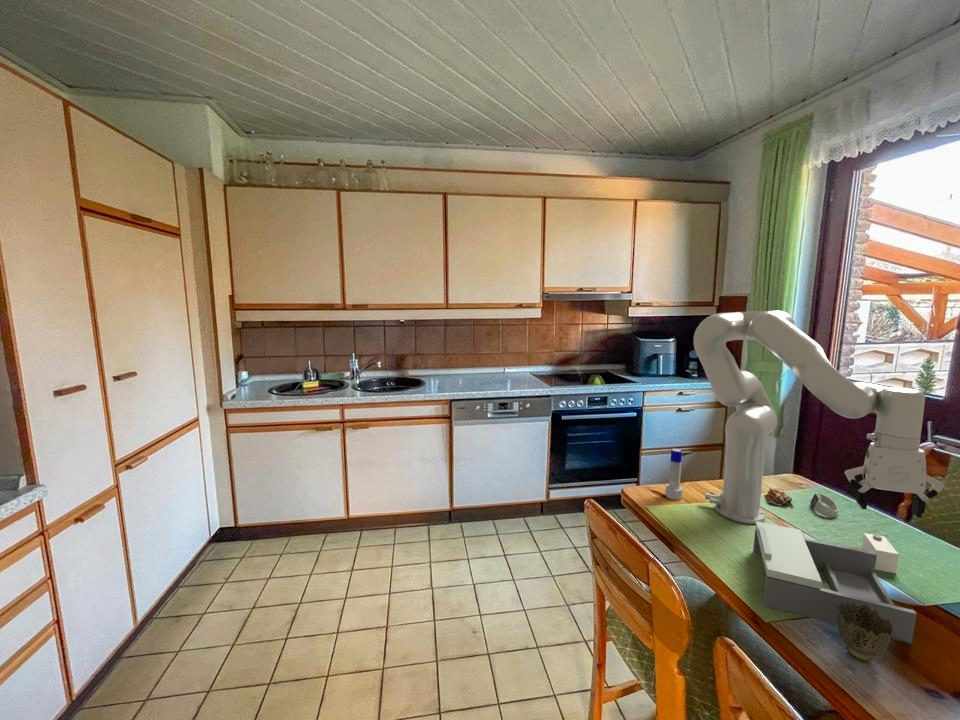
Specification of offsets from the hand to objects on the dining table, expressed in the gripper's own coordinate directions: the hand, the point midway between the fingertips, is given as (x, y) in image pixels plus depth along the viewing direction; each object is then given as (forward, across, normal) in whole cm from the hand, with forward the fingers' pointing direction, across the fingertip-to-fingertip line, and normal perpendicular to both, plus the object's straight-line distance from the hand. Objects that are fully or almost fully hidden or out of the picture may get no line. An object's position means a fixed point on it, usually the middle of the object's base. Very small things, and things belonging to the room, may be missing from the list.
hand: (888, 510), depth 101 cm
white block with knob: (+14, -1, 0) cm, 14 cm away
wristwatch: (+13, -6, +25) cm, 29 cm away
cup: (+14, -14, -37) cm, 42 cm away
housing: (+13, -16, -19) cm, 28 cm away
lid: (+6, -23, -19) cm, 30 cm away
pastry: (+13, -18, +28) cm, 36 cm away
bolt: (+12, -47, +15) cm, 51 cm away
